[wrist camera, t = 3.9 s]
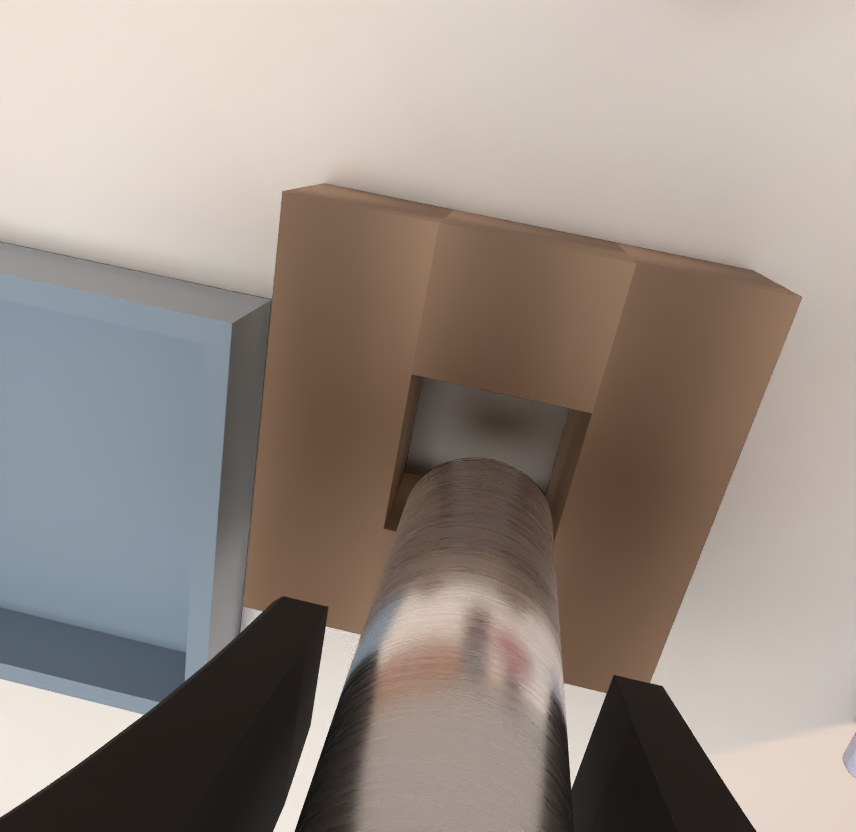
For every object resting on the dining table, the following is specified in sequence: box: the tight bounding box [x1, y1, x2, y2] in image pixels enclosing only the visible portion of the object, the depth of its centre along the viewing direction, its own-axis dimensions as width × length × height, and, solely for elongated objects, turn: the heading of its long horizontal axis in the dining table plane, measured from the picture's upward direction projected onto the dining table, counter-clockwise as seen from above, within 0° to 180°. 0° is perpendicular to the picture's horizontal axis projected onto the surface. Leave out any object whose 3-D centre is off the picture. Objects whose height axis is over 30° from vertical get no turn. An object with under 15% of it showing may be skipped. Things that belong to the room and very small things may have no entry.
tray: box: [0, 242, 271, 715], centre depth 19 cm, size 12×12×2 cm
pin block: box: [243, 184, 802, 693], centre depth 16 cm, size 10×10×3 cm
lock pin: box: [295, 458, 574, 832], centre depth 9 cm, size 4×4×9 cm
